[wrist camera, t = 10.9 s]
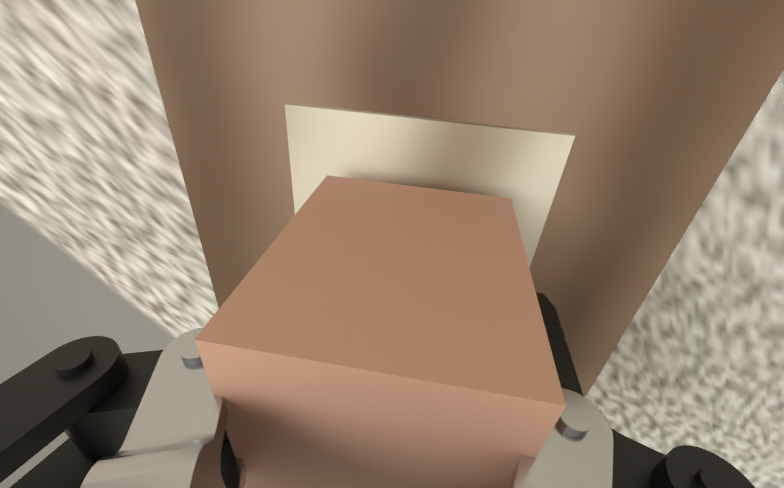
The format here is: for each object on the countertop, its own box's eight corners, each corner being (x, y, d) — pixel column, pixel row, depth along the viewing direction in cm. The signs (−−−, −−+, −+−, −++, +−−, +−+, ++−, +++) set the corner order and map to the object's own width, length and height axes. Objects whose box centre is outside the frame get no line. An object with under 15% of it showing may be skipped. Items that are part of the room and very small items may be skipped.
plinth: (803, -139, 8) (960, -207, 6) (546, 385, 19) (560, 444, 17) (171, -162, 10) (66, -225, 7) (264, 336, 21) (236, 383, 18)
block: (510, 198, 9) (565, 405, 5) (474, 330, 12) (484, 550, 7) (326, 175, 10) (193, 339, 5) (331, 307, 13) (249, 498, 8)
